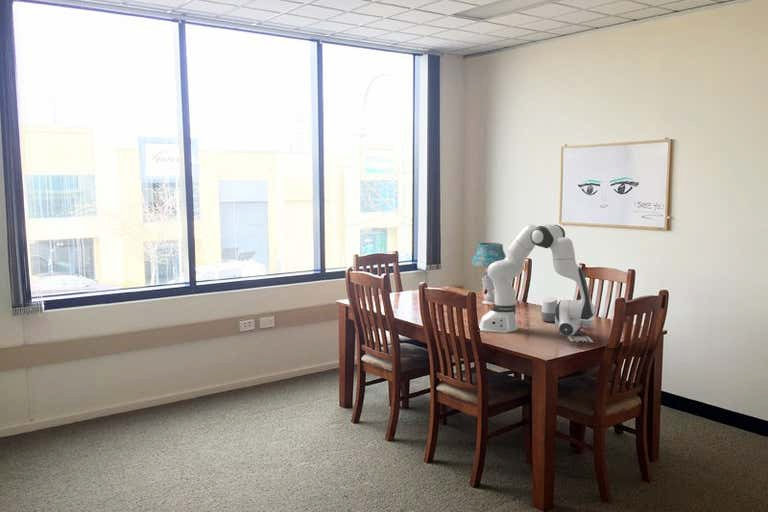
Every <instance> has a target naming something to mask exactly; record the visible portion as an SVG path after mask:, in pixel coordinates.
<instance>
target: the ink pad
mask: <svg viewBox="0 0 768 512" xmlns="http://www.w3.org/2000/svg"><path fill="white" fill-rule="evenodd" d="M573 335H587V331H586V329H584V328H581V329H580V330H579V331H576V332H575V333H574V334H573Z"/></svg>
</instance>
